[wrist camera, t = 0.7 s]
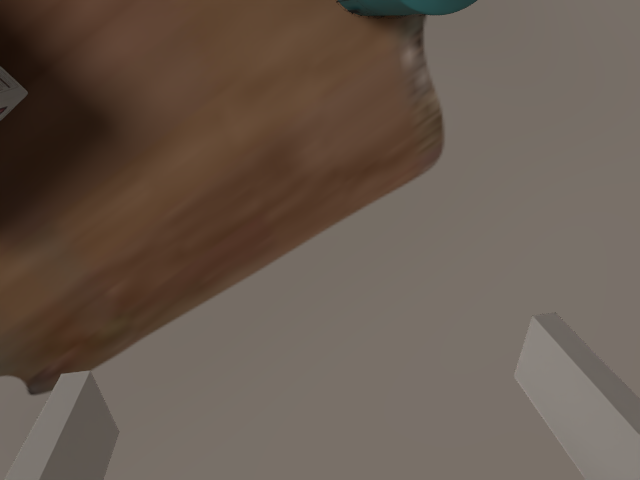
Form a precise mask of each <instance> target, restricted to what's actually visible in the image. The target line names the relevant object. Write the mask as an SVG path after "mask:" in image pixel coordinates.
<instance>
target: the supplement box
mask: <svg viewBox="0 0 640 480" xmlns="http://www.w3.org/2000/svg"><path fill="white" fill-rule="evenodd" d="M27 94H28V92H27V91H26V90H25V89H24V88H23V87H22V86H21V85H20V84H19V83H18V82H17V81H16V80H15V79H14V78H13V77H12V76H11V75H9V74H8V73H7V72H6V71H5V70H4V69H3V68H2V67H1V66H0V121H1V120H2V119H3V118H4V117H5V116H6V115H7V114H8V113H9V112H10V111H11V110H12V109H13V108H14V107H15V106H16V105H17V104H18V103H19V102H20V101H21V100H22V99H23V98H25V97H26V95H27Z"/></svg>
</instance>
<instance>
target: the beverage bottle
mask: <svg viewBox="0 0 640 480" xmlns="http://www.w3.org/2000/svg"><path fill="white" fill-rule="evenodd" d="M335 1H336V0H335ZM476 1H477V0H338V1H336V2H339V3H340V4H341V5H342V6H343V7H345V9H347V10H348V11H349V13H350V12H351V13H352V14H353V13H355V14H358V15H360V16H362V15H364V16H368V17H369V16H381V17H383V18H384V16H385V15H400V16H402V15H404V16H405V15H406V16H407V15H412V14H425V15H445V14H450V13H454V12H457V11H460V10H462V9H464V8H466V7H468V6H469V5H471V4H473V3H474V2H476ZM340 7H341V6H340ZM346 12H347V11H346ZM355 14H354V15H355ZM383 15H384V16H383ZM355 16H356V15H355ZM420 16H421V15H420ZM398 17H399V16H398ZM377 18H378V17H377ZM392 18H393V17H392ZM402 18H403V17H402ZM388 19H389V18H388ZM390 19H391V18H390Z"/></svg>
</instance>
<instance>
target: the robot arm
mask: <svg viewBox="0 0 640 480" xmlns="http://www.w3.org/2000/svg"><path fill="white" fill-rule="evenodd" d="M514 378H515V379H516V380H517V382H518V383H519V385H520V386H521V388H522V389H523V390H524V392H525V393H526V395H527V396H528V398H529V399H530V401H531V402H532V403H533V405H534V406H535V408H536V409H537V411H538V412H539V414H540V415H541V416H542V418H543V419H544V421H545V422H546V423H547V425H548V426H549V428H550V429H551V431H552V432H553V433H554V435H555V437H556V438H557V439H558V441H559V442H560V444H561V445H562V447H563V448H564V449H565V451H566V452H567V454H568V455H569V457H570V458H571V460H572V461H573V462H574V464H575V465H576V467H577V468H578V470H579V471H580V472H581V474H582V475H583V477H584V478H585V480H640V398H638V396H637V395H636V394H635V393H634V392H633V391H632V390H631V389H630V388H629V387H628V386H627V385H626V384H625V383H624V382H622V380H621V379H620V378H619V377H618V376H617V375H616V374H615V373H614V372H613V371H612V370H611V369H610V368H609V367H608V366H607V365H606V364H605V363H604V362H603V361H602V360H601V359H600V358H599V357H598V356H597V355H596V353H594V351H593V350H591V348H590V347H589V346H588V345H586V343H585V342H584V341H583V340H582V339H581V338H580V337H579V336H578V335H577V334H576V333H575V332H574V331H573V330H572V329H571V328H570V327H569V326H568V325H567V324H566V323H565V322H564V321H563V320H562V319H561V318H560V317H559V316H558V315H557V314H556V313H548V314H540V315H533V316H532V318H531V322H530V325H529V328H528V331H527V335H526V338H525V341H524V345H523V348H522V351H521V355H520V358H519V361H518V365H517V368H516V371H515V375H514ZM118 434H119V430H118V428H117V426H116V424H115V422H114V420H113V417H112V415H111V413H110V411H109V409H108V407H107V405H106V403H105V400H104V398H103V396H102V395H101V392H100V390H99V388H98V386H97V384H96V382H95V380H94V377H93V375H92V373H91V371H83V372H75V373H67V374H61V376H60V378H59V380H58V382H57V383H56V385H55V387H54V389H53V391H52V393H51V394H50V396H49V398H48V400H47V402H46V404H45V405H44V407H43V409H42V411H41V413H40V415H39V417H38V418H37V420H36V422H35V424H34V426H33V428H32V429H31V431H30V433H29V435H28V437H27V438H26V440H25V442H24V444H23V446H22V448H21V450H20V451H19V453H18V455H17V457H16V459H15V460H14V462H13V464H12V466H11V468H10V470H9V472H8V473H7V475H6V477H5V479H4V480H103V479H104V476H105V473H106V470H107V467H108V464H109V461H110V458H111V455H112V452H113V449H114V446H115V443H116V440H117V437H118Z"/></svg>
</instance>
